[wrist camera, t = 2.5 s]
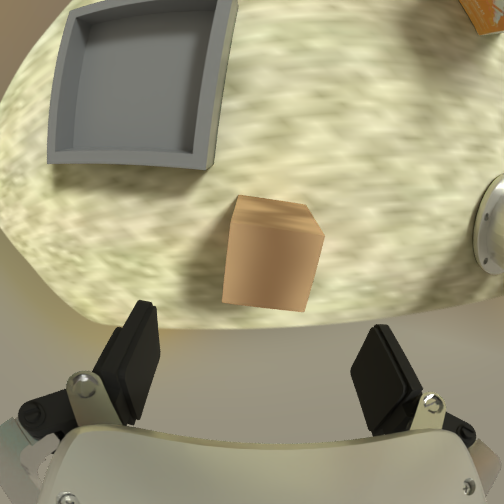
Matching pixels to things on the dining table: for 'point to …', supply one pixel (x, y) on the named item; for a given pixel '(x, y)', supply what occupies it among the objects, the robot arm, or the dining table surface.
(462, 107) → the dining table surface
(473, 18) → the small box
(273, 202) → the wooden block
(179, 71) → the tray
